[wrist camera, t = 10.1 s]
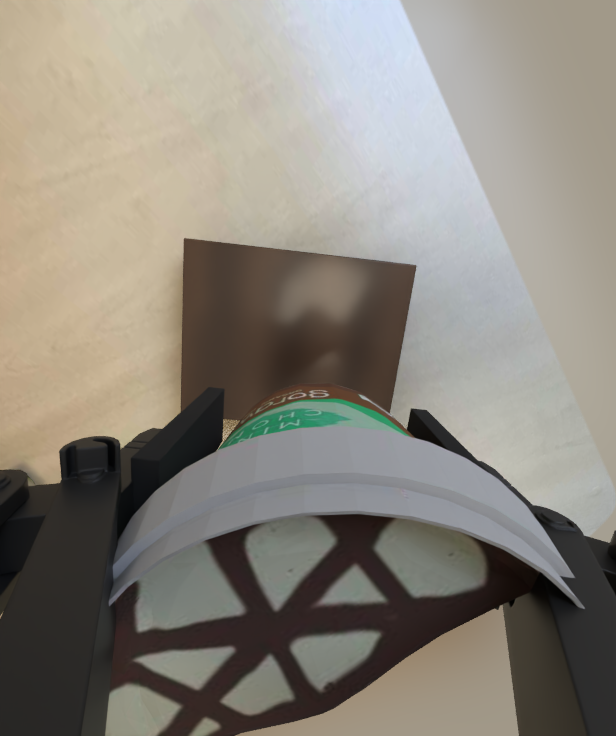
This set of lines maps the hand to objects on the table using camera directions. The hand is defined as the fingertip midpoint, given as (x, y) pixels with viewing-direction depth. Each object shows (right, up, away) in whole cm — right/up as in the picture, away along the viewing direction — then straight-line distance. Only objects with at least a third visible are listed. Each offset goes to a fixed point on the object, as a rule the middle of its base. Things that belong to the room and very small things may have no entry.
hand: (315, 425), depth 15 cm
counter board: (-2, +6, +16) cm, 17 cm away
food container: (-1, 0, +1) cm, 2 cm away
